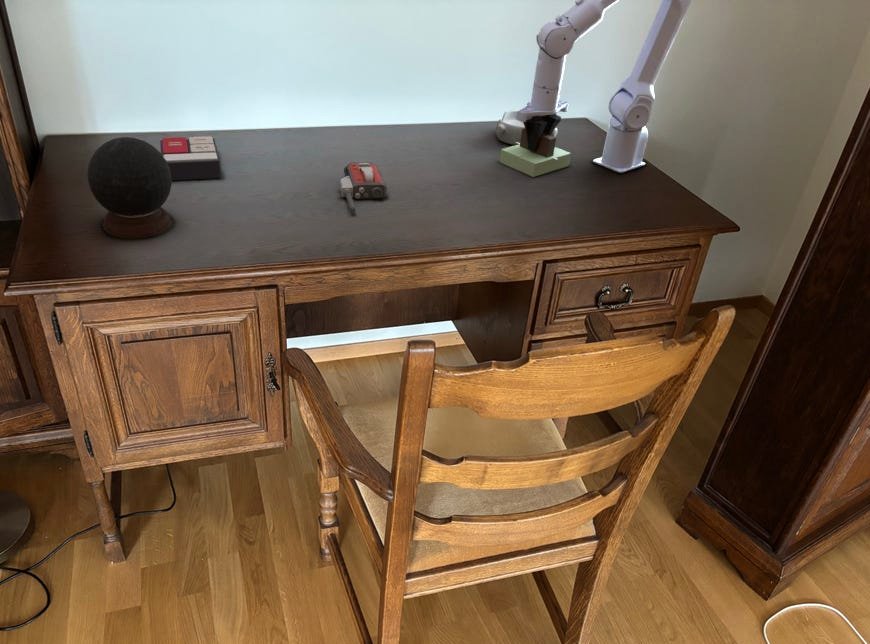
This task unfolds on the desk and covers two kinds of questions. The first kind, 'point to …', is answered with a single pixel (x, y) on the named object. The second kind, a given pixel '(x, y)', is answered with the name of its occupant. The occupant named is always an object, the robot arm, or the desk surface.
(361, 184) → the walkie-talkie
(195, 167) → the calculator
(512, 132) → the dish
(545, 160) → the stand
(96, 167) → the ball on wooden base
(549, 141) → the brown block
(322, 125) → the desk surface
